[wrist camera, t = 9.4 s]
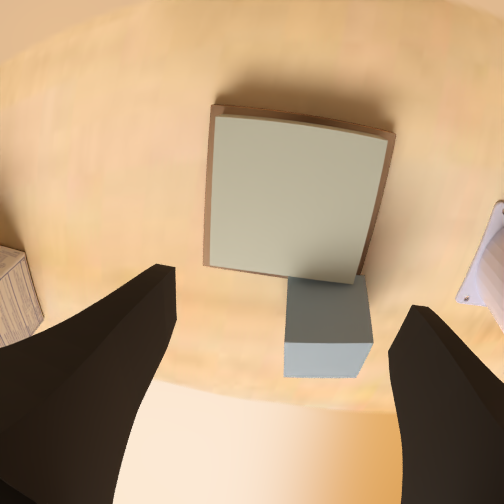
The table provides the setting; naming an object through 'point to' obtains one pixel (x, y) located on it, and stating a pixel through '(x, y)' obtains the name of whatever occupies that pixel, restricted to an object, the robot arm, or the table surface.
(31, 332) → the medicine box
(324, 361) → the cube
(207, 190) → the tower base
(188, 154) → the table surface
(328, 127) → the tower top
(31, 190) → the table surface
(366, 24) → the table surface
